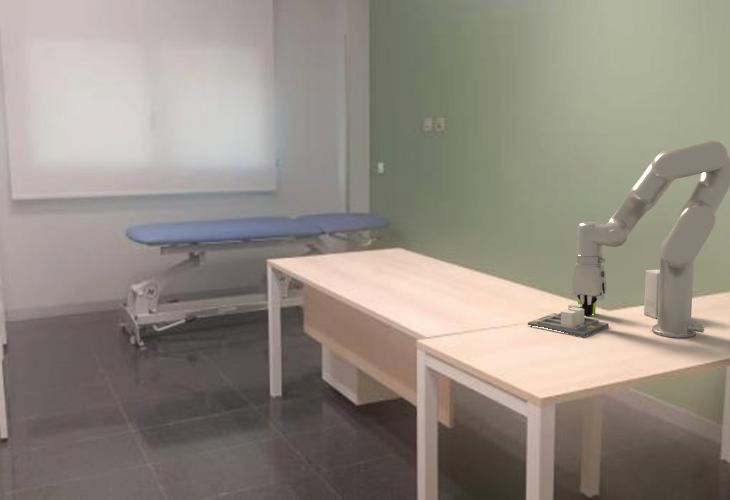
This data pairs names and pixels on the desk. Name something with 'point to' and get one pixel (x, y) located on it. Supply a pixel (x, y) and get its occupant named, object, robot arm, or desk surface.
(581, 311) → the tab
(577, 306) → the tab
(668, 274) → the robot arm
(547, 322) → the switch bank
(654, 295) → the skincare box
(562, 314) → the tab
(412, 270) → the desk surface
